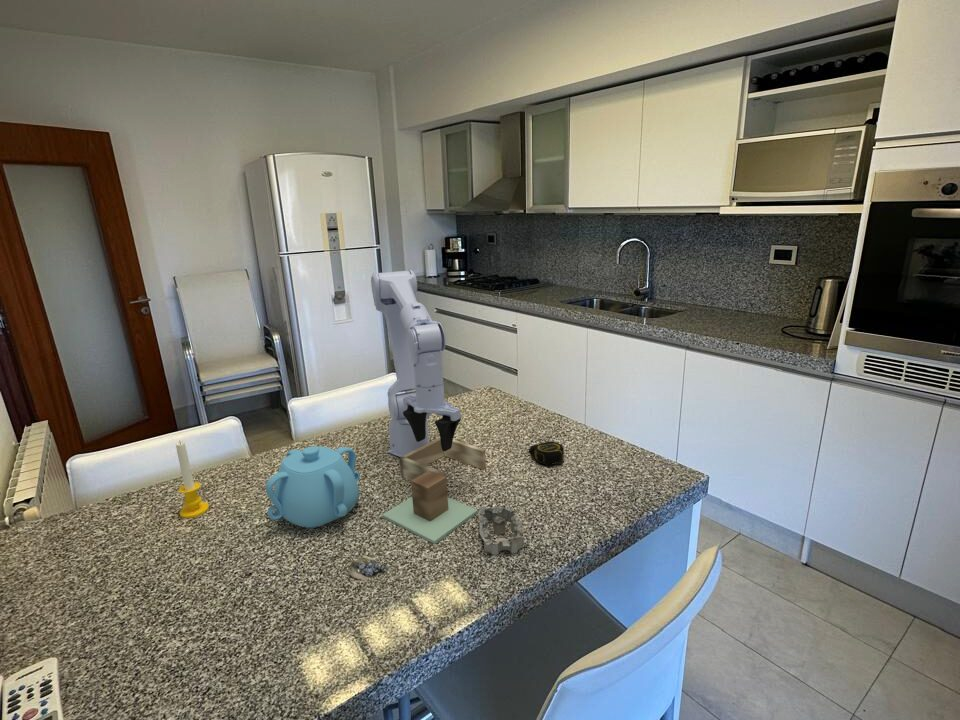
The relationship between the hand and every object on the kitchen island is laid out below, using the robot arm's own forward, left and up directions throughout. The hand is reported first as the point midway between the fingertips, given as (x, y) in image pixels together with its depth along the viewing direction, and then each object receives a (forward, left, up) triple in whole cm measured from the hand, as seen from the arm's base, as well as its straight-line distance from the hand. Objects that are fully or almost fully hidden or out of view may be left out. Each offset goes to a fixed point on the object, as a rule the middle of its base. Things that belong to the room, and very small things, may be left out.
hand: (433, 444), depth 106 cm
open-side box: (-2, +5, -9) cm, 11 cm away
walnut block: (+7, -9, -9) cm, 14 cm away
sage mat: (+7, -9, -9) cm, 15 cm away
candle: (-33, -36, -10) cm, 50 cm away
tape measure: (+13, +23, -10) cm, 28 cm away
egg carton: (+22, -6, -10) cm, 25 cm away
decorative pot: (-12, -21, -10) cm, 26 cm away
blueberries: (+10, -26, -10) cm, 29 cm away
